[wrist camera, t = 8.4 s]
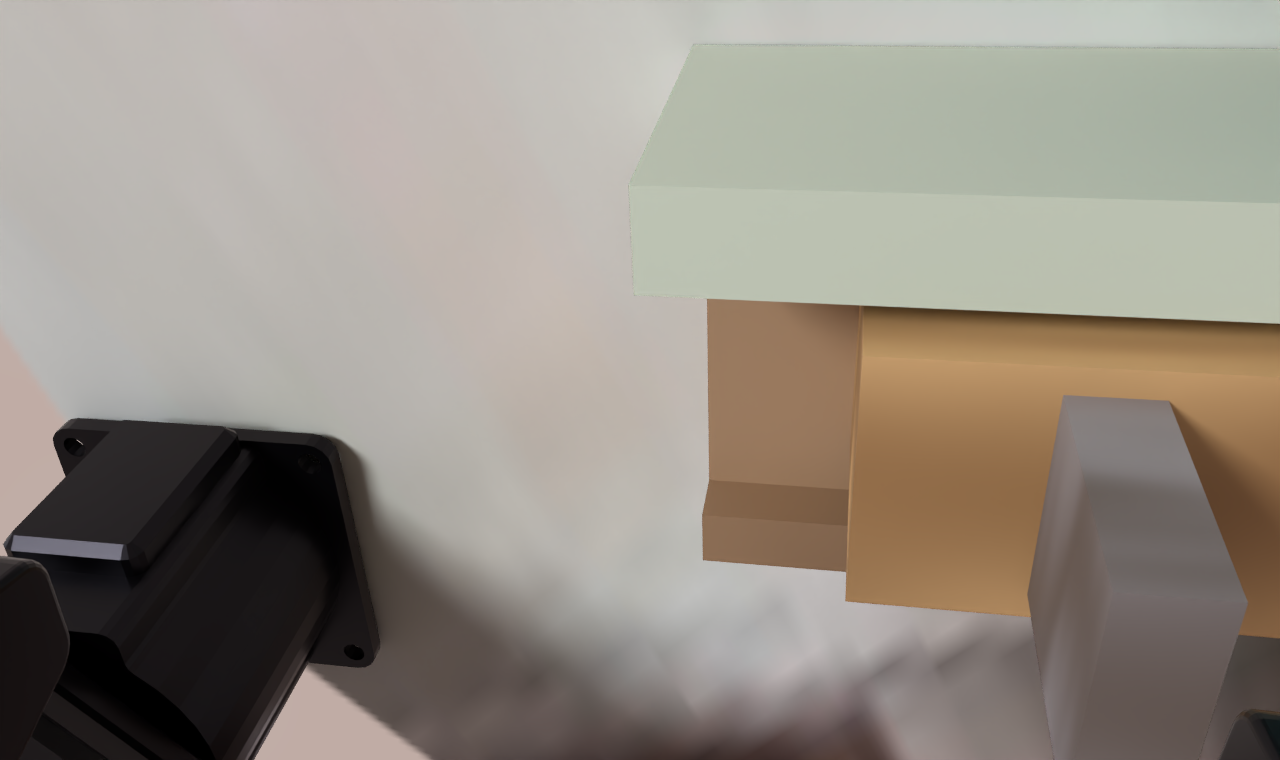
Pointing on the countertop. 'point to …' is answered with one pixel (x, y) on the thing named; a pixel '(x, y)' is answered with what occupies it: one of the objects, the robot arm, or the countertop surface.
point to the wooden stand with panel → (932, 227)
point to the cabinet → (1077, 501)
